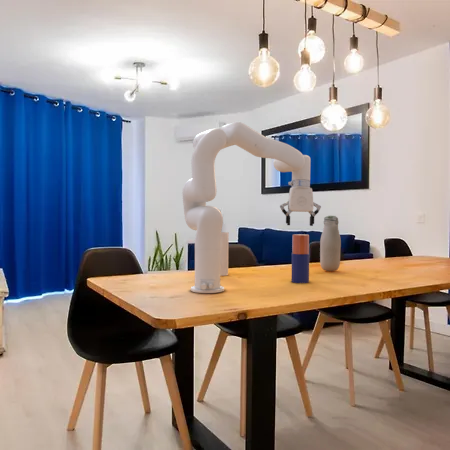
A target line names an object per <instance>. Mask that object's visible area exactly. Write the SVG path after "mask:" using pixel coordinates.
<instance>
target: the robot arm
mask: <svg viewBox="0 0 450 450" xmlns="http://www.w3.org/2000/svg"><path fill="white" fill-rule="evenodd" d="M231 146H237V147H239V148H240V149H242V150H244V151H246V152H247V153H249V154H251V155H252V156H254V157H258V158H262V159H270V160H271V159H273V161H272V162H273V168H274V169H275V170H276V171H278V172H280V173H291V181H288V186H291V187H290V188H289V192H288V199H287V200H288V201H286V202H284V203H282V204H279V208H280V211H281V212H282V213H283V214H284V215H285V224H286V226H291V216H290V215H291V214H292V212H299V213H300V212H301V213H308V214H309V215H310V216H309V226H310V227H313V226H314V225H315V216H317V214H318V213H319V212H320V210H321V208H322V206H321V205H319V204H318V203H316V202H315V201H314V193H313V188H312V187H311V157H310V156H309V155H307V154H303V153H302V152H301V151H300V150H298V149H297V148H295V147H293V146H292V145H290V144H288V143H287V142H283V141H279V140H276V139H273V138H270V137H267V136H265V135H263V134H262V133H260V132H258V131H257V130H255V129H253V128H251V127H250V126H248V125H247V124H245V122H244V123H243V122H241V121H234V122H231V123H227V124H225V125H222V126H219V127H215V128H210V129H207V130H205V131H203V132H200V133H198V134H196V135H195V137H194V138H193V142H192V147H193V152H192V155H191V160H190V161H191V163H190V164H191V178H189V179H188V180H187V181H185V183H184V184H183V187H182V193H181V194H182V195H181V196H182V205H183V214H184V220H185V223H186V225H187V226H188V228H189V229H191V230H193V231H196V234H195V238H194V285H193V286H192V285H191V287H190V292H193V293H196V294H218V293H222V292H224V291H225V287H224V286H222V285H221V276H220V239H221V232H222V229H223V224H224V218H223V214H222V212H221V210H220V209H219V208H217V207H216V206H213V205H207V203H209V202H212V201H213V200H214V199H215V198H216V196H217V192H218V191H217V181H216V171H215V162H216V158H217V156H218V154H219V153H220V151H222V150H224V149H226V148H229V147H231ZM286 206H287V210H286V209H285V207H286ZM314 207H315V210H314ZM313 210H314V211H313Z"/></svg>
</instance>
